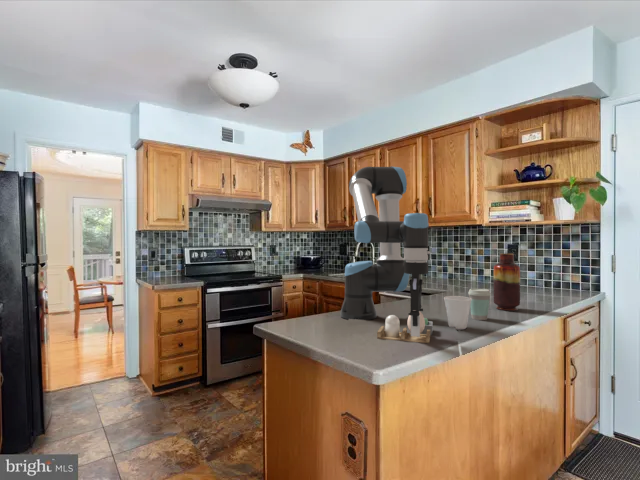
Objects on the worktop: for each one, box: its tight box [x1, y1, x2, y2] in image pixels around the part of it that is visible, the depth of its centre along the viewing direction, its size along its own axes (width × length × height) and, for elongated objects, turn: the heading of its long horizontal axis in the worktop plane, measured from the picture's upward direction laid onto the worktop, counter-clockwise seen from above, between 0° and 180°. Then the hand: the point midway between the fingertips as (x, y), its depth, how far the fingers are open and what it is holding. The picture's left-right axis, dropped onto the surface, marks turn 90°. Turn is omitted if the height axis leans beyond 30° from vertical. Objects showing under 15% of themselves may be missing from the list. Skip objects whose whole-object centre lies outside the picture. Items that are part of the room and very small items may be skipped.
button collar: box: [409, 320, 434, 336], centre depth 122 cm, size 7×7×4 cm
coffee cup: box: [467, 288, 491, 321], centre depth 147 cm, size 8×9×12 cm
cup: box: [443, 295, 472, 330], centre depth 132 cm, size 10×10×11 cm
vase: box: [493, 253, 521, 312], centre depth 167 cm, size 11×11×26 cm
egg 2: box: [406, 311, 425, 333], centre depth 114 cm, size 6×6×8 cm
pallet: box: [376, 325, 431, 344], centre depth 115 cm, size 16×8×3 cm, turn 71°
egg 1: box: [384, 314, 401, 338], centre depth 117 cm, size 5×5×7 cm
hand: (416, 333), depth 114 cm, fingers closed on egg 2, 5 cm apart
